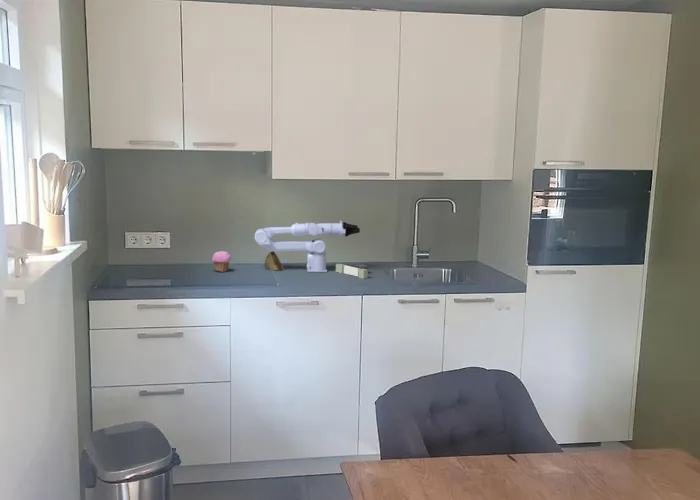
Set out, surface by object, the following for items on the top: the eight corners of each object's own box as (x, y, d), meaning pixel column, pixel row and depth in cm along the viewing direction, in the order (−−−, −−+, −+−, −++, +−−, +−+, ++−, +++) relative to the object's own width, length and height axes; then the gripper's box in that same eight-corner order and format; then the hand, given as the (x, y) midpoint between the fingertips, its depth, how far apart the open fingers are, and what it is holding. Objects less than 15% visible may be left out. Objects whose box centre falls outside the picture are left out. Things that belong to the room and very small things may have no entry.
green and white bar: (363, 278, 307) (363, 270, 307) (335, 272, 322) (335, 264, 321) (367, 278, 309) (367, 269, 308) (339, 271, 324) (339, 263, 323)
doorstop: (360, 274, 317) (360, 266, 317) (353, 273, 321) (353, 265, 320) (367, 273, 321) (368, 265, 320) (360, 272, 324) (361, 264, 324)
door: (359, 276, 310) (359, 268, 310) (343, 273, 319) (343, 264, 318) (360, 276, 311) (361, 267, 310) (345, 272, 319) (345, 264, 319)
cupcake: (234, 271, 318) (234, 250, 316) (223, 273, 310) (223, 253, 308) (219, 269, 322) (219, 249, 320) (208, 271, 314) (208, 251, 312)
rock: (258, 263, 328) (262, 264, 319) (268, 249, 330) (271, 249, 320) (276, 275, 331) (280, 276, 322) (285, 261, 333) (289, 262, 323)
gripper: (332, 223, 314) (360, 223, 316) (330, 218, 328) (356, 218, 330) (332, 237, 315) (360, 237, 317) (329, 232, 330) (356, 232, 331)
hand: (358, 229), depth 323 cm, fingers open, 7 cm apart
